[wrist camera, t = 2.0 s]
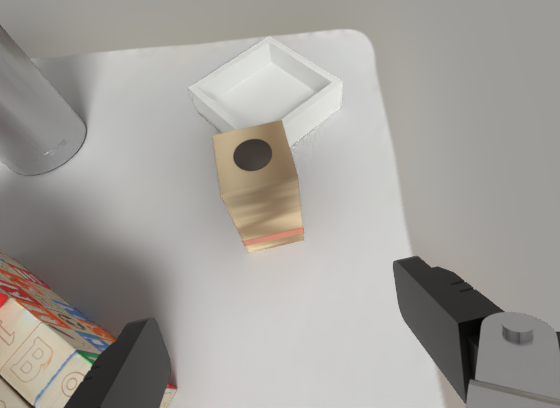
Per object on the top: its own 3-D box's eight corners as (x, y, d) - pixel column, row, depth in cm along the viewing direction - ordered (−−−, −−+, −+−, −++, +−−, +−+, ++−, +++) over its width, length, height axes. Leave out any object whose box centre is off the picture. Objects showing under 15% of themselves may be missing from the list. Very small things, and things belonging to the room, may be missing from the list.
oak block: (248, 253, 30) (219, 194, 21) (240, 204, 32) (211, 134, 23) (304, 240, 30) (298, 176, 21) (292, 192, 32) (282, 118, 24)
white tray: (197, 111, 39) (187, 88, 36) (272, 61, 42) (269, 35, 39) (261, 169, 34) (255, 147, 31) (341, 107, 37) (343, 81, 34)
